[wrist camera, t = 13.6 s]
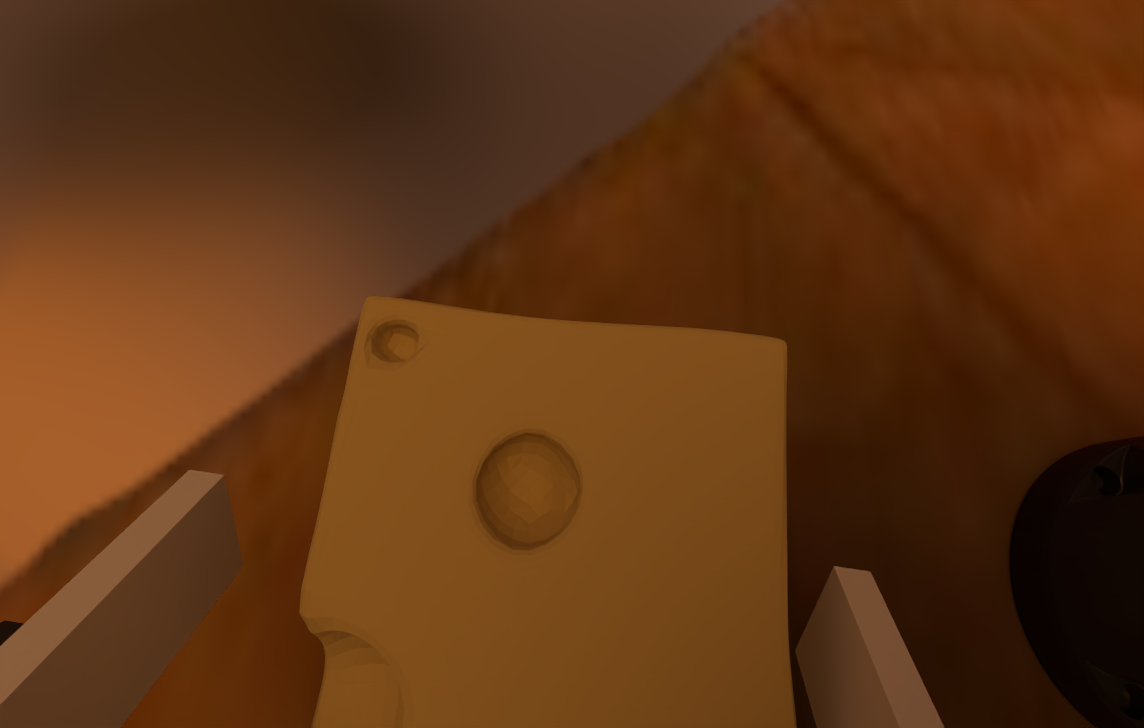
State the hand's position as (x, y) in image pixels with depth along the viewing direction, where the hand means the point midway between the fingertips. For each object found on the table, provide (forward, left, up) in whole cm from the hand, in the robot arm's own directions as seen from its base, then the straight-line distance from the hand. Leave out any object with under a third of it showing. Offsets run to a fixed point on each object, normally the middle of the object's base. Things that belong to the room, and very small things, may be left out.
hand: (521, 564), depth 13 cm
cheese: (-1, -1, -9) cm, 9 cm away
